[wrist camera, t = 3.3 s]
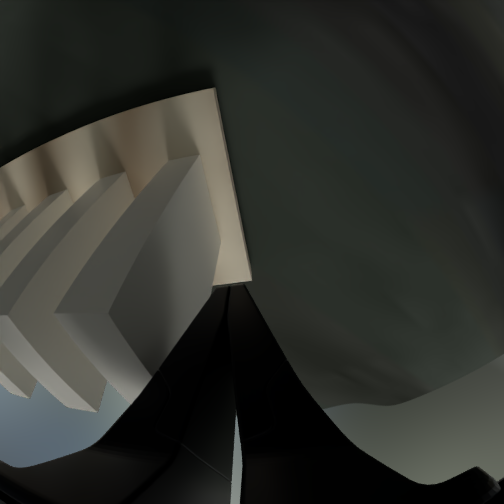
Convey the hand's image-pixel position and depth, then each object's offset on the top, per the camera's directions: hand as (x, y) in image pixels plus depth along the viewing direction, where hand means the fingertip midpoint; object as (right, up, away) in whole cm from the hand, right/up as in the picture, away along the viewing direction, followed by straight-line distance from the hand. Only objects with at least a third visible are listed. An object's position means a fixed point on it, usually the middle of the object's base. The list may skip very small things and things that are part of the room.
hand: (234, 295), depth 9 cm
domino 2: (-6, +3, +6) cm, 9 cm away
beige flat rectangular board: (-11, +3, +7) cm, 14 cm away
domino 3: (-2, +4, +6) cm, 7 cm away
